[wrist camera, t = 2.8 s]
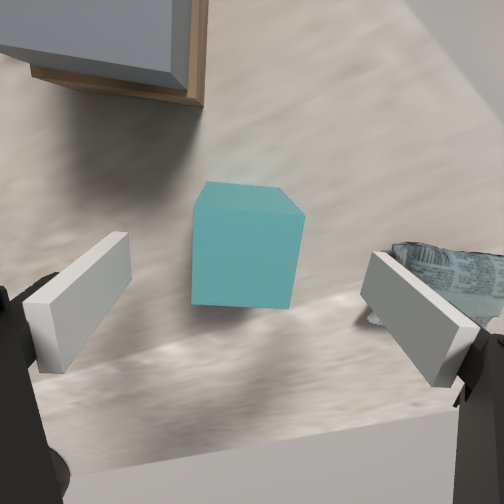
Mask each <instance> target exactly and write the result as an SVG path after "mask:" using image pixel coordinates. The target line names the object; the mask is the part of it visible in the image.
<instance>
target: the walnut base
mask: <svg viewBox="0 0 504 504" xmlns="http://www.w3.org/2000/svg"><path fill="white" fill-rule="evenodd" d="M208 1H209V0H192V8H191V31H190V54H189V77H188V91H186V90H179V89H173V88H167V87H160V86H154V85H148V84H142V83H135V82H129V81H123V80H116V79H110V78H104V77H98V76H91V75H85V74H79V73H73V72H66V71H60V70H54V69H47V68H41V67H38V66H35V65H32V64H30V69H31V75H32V77H34V78H38V79H41V80H44V81H48V82H51V83H54V84H57V85H61V86H64V87H67V88H71V89H74V90H79V91H86V92H94V93H101V94H109V95H117V96H124V97H132V98H140V99H147V100H155V101H162V102H170V103H178V104H185V105H193V106H201V107H204V92H205V69H206V46H207V24H208Z"/></svg>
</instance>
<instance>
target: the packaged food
mask: <svg viewBox="0 0 504 504" xmlns="http://www.w3.org/2000/svg"><path fill="white" fill-rule="evenodd" d="M392 250H393V252H394V254H395V256H396V261H397V262H398V263H399V264H401V265H402V266H403V267H404V268H406V269H407V270H408V271H410V272H411V273H412V274H413V275H415V276H416V277H417V278H418V279H420V280H421V281H422V282H423V283H425V284H426V285H427V286H428V287H430V288H431V289H432V290H433V291H435V292H436V293H437V294H439V295H440V296H441V297H442V298H444V299H445V300H447V301H449V302H451V303H452V304H453V305H454V306H456V307H457V308H458V309H460V311H462V312H463V313H465V314H466V315H467V317H470V318H471V319H472V320H474V321H475V322H476V323H477V324H479V325H480V326H481V327H482V328H484V329H486V327H487V323H488V322H489V321H490V320H491V319H492V318H493V317H499V316H500V313H501V311H502V308H503V305H504V256H502V255H493V254H489V253H479V252H470V253H469V252H464V251H461V252H458V251H452V250H446V249H439V248H437V247H434V246H431V245H428V244H425V243H419V242H400V243H394V244H392ZM366 320H367V321H369V322H371V323H373V324H378V325H383V323H382V322H381V321H380V319H379V318H378V317H377V316H376V314H375V313H374V312H373V311H372V312H371V313H370V315H368V317H367V318H366ZM383 326H384V325H383Z"/></svg>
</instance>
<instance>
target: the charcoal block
mask: <svg viewBox="0 0 504 504" xmlns="http://www.w3.org/2000/svg"><path fill="white" fill-rule="evenodd" d="M191 8H192V0H0V53H2V54H5V55H8V56H10V57H13V58H16V59H19V60H21V61H24V62H27V63H30V64H32V65H35V66H38V67H41V68H47V69H54V70H60V71H66V72H73V73H79V74H85V75H91V76H98V77H104V78H110V79H116V80H123V81H129V82H135V83H142V84H148V85H154V86H160V87H167V88H173V89H179V90H186V91H188V77H189V54H190V31H191Z"/></svg>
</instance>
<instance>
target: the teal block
mask: <svg viewBox="0 0 504 504" xmlns="http://www.w3.org/2000/svg"><path fill="white" fill-rule="evenodd" d="M304 221H305V215H304V214H303V212H302V211H301V210H300V209H299V208H298V207H297V206H296V205H295V204H294V203H293V202H292V201H291V200H290V199H289V198H288V196H287V195H286V194H285V193H284V192H283V191H282V190H281V189H280V188H274V187H263V186H252V185H241V184H230V183H220V182H209V181H207V183H206V185H205V187H204V188H203V190H202V192H201V194H200V196H199V197H198V199H197V201H196V203H195V205H194V209H193V250H192V292H191V304H194V305H214V306H234V307H254V308H274V309H289V306H290V300H291V295H292V289H293V283H294V278H295V272H296V266H297V260H298V255H299V249H300V243H301V238H302V232H303V226H304Z"/></svg>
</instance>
